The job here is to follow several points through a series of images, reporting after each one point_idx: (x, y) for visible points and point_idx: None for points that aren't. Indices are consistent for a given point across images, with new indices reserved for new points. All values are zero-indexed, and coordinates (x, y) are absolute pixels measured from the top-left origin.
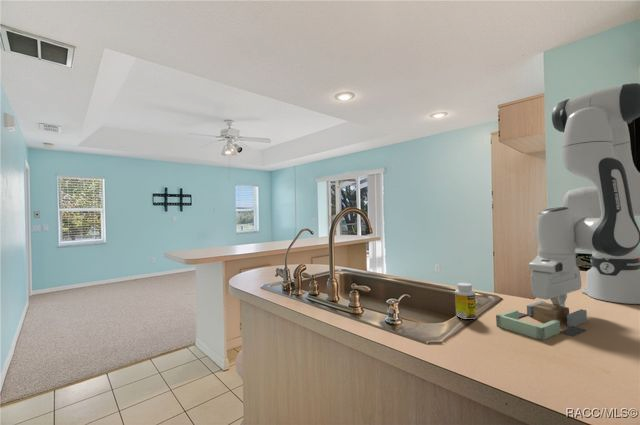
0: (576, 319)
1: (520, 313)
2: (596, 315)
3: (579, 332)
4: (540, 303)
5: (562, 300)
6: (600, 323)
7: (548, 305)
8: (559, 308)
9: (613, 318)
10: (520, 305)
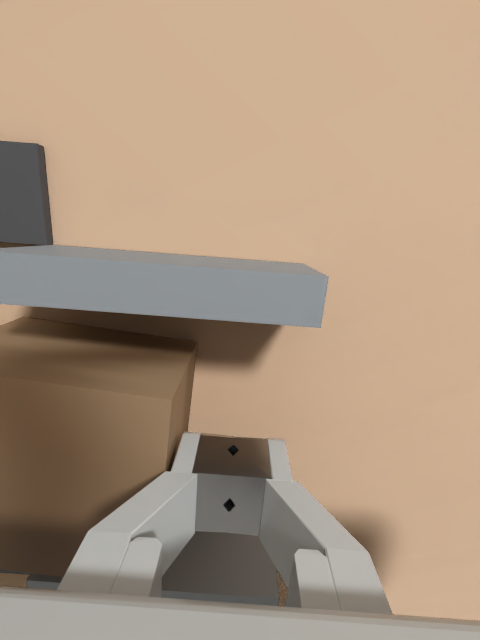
0: None
1: (18, 190)
2: (445, 536)
3: (4, 571)
4: (201, 318)
5: (279, 551)
6: (280, 581)
7: (71, 459)
8: (60, 550)
9: (439, 597)
10: (336, 19)
